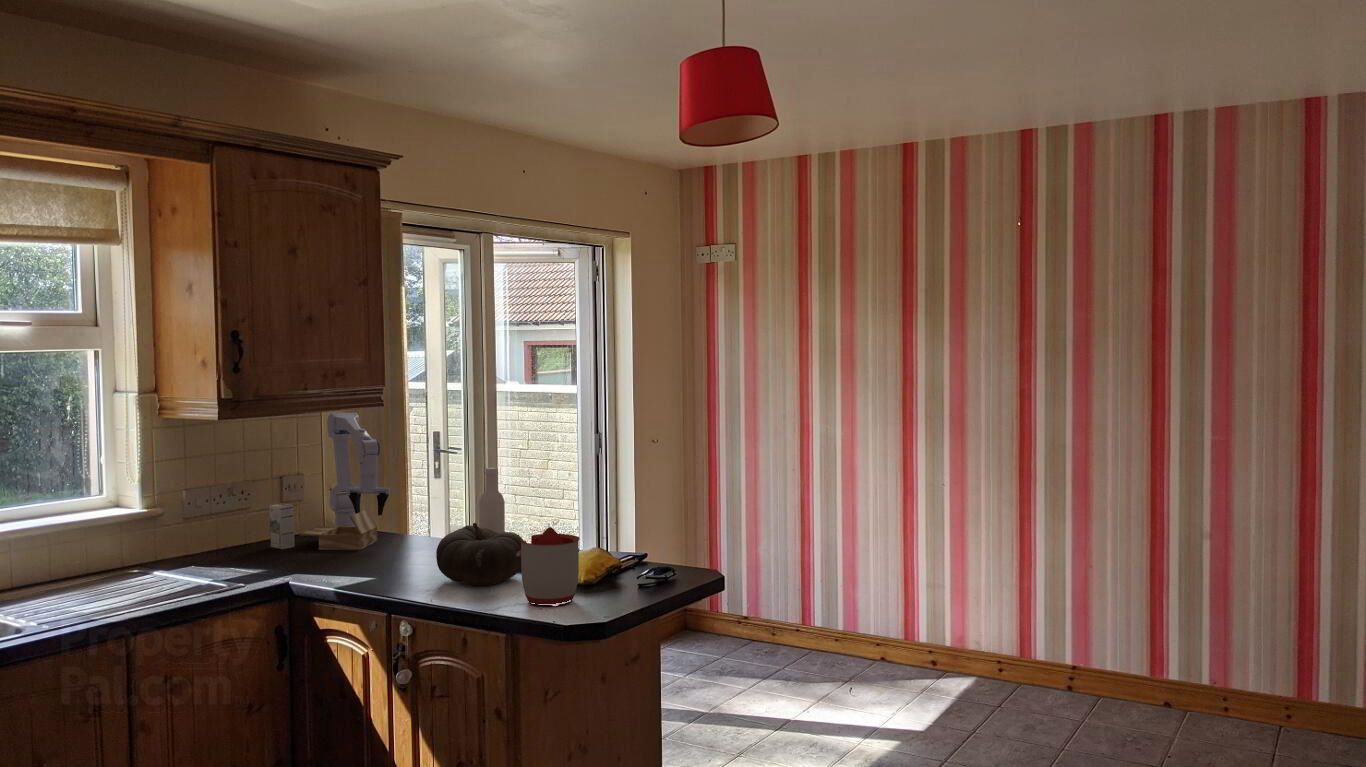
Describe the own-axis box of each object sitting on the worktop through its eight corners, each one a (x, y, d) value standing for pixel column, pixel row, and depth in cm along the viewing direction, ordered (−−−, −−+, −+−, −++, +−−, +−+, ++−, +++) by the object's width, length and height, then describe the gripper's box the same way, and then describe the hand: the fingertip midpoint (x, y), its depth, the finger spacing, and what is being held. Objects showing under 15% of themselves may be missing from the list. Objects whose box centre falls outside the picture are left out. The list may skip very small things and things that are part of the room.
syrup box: (295, 546, 352) (294, 504, 351) (280, 549, 347) (279, 506, 346) (284, 545, 355) (283, 502, 354) (269, 547, 350) (268, 505, 349)
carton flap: (365, 510, 361) (366, 509, 361) (376, 527, 361) (377, 526, 361) (349, 516, 347) (350, 516, 346) (360, 534, 346) (361, 533, 346)
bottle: (475, 566, 320) (474, 469, 319) (485, 561, 328) (485, 466, 327) (499, 567, 318) (498, 470, 317) (509, 562, 326) (508, 467, 325)
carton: (318, 540, 363) (318, 526, 363) (377, 541, 362) (377, 527, 362) (298, 549, 347) (298, 534, 347) (359, 550, 346) (359, 535, 346)
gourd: (456, 560, 316) (462, 505, 313) (533, 576, 312) (540, 521, 309) (420, 587, 292) (426, 528, 289) (503, 605, 288) (511, 546, 285)
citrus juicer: (533, 592, 286) (532, 520, 285) (590, 598, 279) (589, 524, 279) (503, 605, 271) (502, 529, 270) (562, 612, 265) (562, 533, 264)
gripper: (343, 476, 349) (343, 516, 350) (385, 476, 348) (385, 517, 349) (351, 473, 357) (351, 513, 357) (392, 474, 355) (393, 513, 356)
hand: (369, 514), depth 353 cm, fingers open, 7 cm apart
